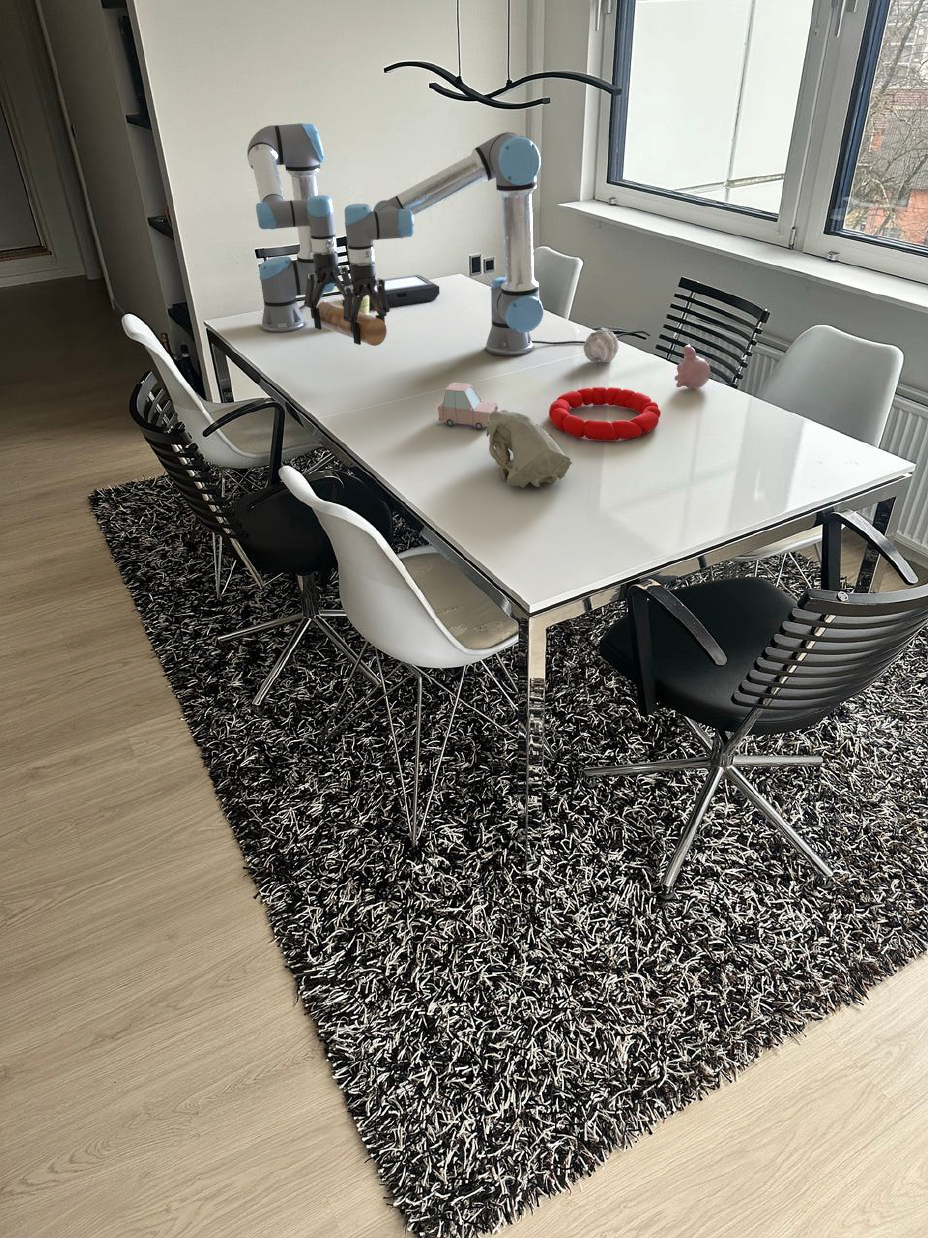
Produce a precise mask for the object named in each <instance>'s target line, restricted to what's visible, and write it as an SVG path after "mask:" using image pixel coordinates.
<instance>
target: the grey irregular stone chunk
mask: <svg viewBox="0 0 928 1238" xmlns="http://www.w3.org/2000/svg"><path fill="white" fill-rule="evenodd" d="M485 436H486V438H487V437H489V438H488V440H489V444H488V445H489V446H488V450H489V454H490V456H491V457H492V458H493V459H494V460H495V462H496V464H497V466H499V468H500V470H501V471H502V472H501V478H502V479H507V480H506V484H507V486H517V487H518V486H519V488H523V489H524V488H526V486H527V485H529V483H531V485H533V486H534V487H536V488H540V485H541V484H542V482H544V483H549V484H550V485H553V484H555V483H556V482H557V480H561V479H563V478H565V476H566V474H567V472H568V471H569V469H570V467H571V466H572V464H573V462H572V461H571V458H570V457H568V456H567V455H565V453H564V451H562V449H561V448H560V446H559V444H557V443H556V439H555V438H554V436H553V435H551V434H550V433H548V432H547V431H546V430H545V429H544V428H542V427H541V426H539V425H538V424H537V423H536V424H535V422H534V421H533V419H532V418H531V417H530V416H529V415H527V414H524V413H519V412H515V411H509V410H507V409H502V410H500V411H499V410H497V411H496V412H492V413H491V414H490V422H488V423H487V427H486V435H485ZM511 453H512V454H511ZM511 455H512V457H513V458H512V460H511ZM507 474H508V475H507Z"/></svg>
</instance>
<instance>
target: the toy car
mask: <svg viewBox="0 0 928 1238" xmlns="http://www.w3.org/2000/svg"><path fill="white" fill-rule="evenodd" d="M498 409H499V404H498V403H497V402H490V401H489V402H487V401H483V397H481V396H480V395H479V394H478V393H477V391H476V390H475V389H474V386H472V384H469V383H459V382H451V383H450V384H449V385H448V386H447V387H446V388H445V389H444V394H443V399H442V403H440V404H439V405H438V406H437V413H438V421H439V422H443V423H446V425H447V426H448V427H452V426H454V425H455V424H461V425H469V426H473V427H475V429H476V430H479V431H480V430H481V429H483V428H485V427H486V428H487V423H488V422H490V414H491V413H492V412H496V411H499V410H498Z"/></svg>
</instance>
